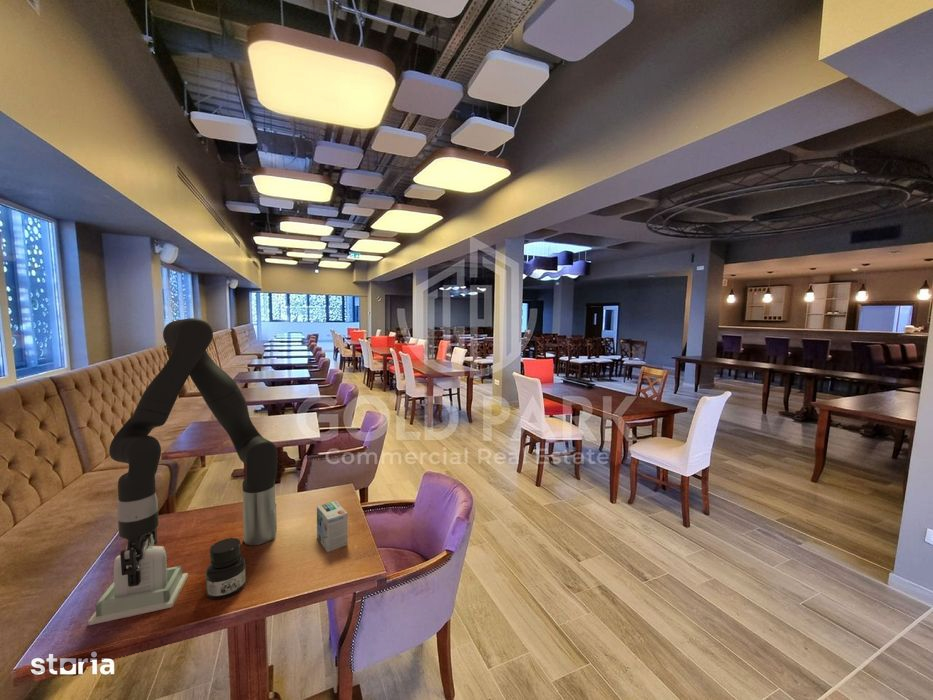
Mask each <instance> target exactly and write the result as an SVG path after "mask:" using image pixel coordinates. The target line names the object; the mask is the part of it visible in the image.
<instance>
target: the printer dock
mask: <svg viewBox="0 0 933 700" xmlns="http://www.w3.org/2000/svg"><path fill="white" fill-rule="evenodd" d="M188 577H189V573H188V572H185V573H183V565H179V566H173V567H167V586H166V587H165V589H160V590H155V591H150V592H145V593H140V594H135V595H130V596H125V597H120V598H115V596H114V581H113V582H112V583H111V584H110V586H109V587H108V588H107V590H105V592H104V593H103V595H102V596H101V597H100V599H98V601H97V603H96V604H95V605H94V606H95V611H94V613H93V614H92V616H91V617H90V618H89V620H88V622H87V624H88V626H92V625H96V624H102V623H105V622H111V621H114V620H118V619H119V620H120V619H124V618H130V617H133V616H137V615H138V616H139V615H143V614H146V613H151V612H156V611H159V610H160V611H161V610H165V609H170V608H173V607H174V606H175V605H174V604H175V603H176V600H177V599H178V597H179V595H180V592H181V591H182V589H183V587H184V585H185V583H186V580H187V579H188Z"/></svg>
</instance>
